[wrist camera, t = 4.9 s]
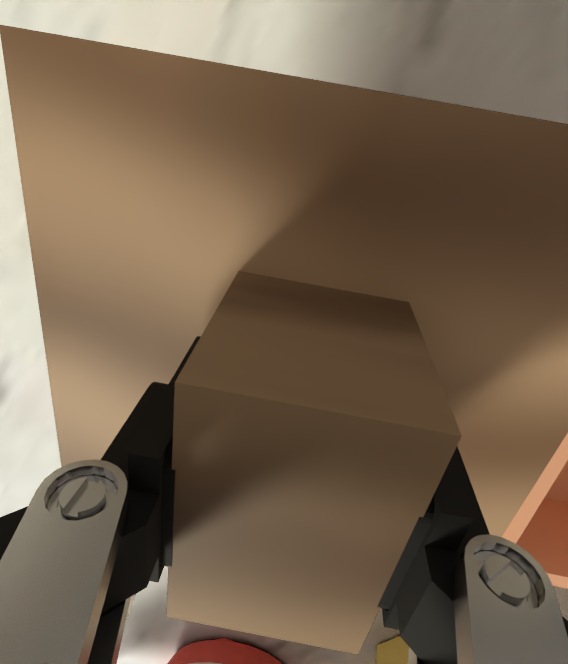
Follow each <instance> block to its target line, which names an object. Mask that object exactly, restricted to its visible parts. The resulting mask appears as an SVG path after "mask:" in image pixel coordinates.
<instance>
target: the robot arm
mask: <svg viewBox="0 0 568 664" xmlns="http://www.w3.org/2000/svg"><path fill="white" fill-rule="evenodd" d="M199 339H200V336H197V337H196V338H195V340H194V342H193V344H192V345H191V347H190V349H189V350H188V352H187V354H186V355H185V357H184V359H183V360H182V362H181V364H180V366H179V367H178V369H177V371H176V372H175V374H174V376H173V377H172V379H171V381H170V382H169V384H165V383H159V382H152V383H151V384H150V385H149V387H148V388H147V390H146V391H145V393H144V394H143V396H142V397H141V399H140V400H139V402H138V403H137V405H136V406H135V408H134V409H133V411H132V412H131V414H130V416H129V417H128V419H127V420H126V422H125V423H124V425H123V426H122V428H121V429H120V431H119V432H118V434H117V435H116V437H115V438H114V440H113V441H112V443H111V444H110V446H109V447H108V449H107V450H106V452H105V453H104V455H103V457H102V458H101V460H97V459H91V460H80V461H77V462H73V463H70V464H67V465H65V466H63V467H61V468H59V469H57V470H55V471H54V472H53V473H52V474H50V475H49V476H48V477H47V478H45V479H44V481H43V482H42V483H41V485H40V486H39V488H38V489H37V490H36V492H35V494H34V496H33V498H32V500H31V502H30V504H29V506H28V507H25V508H23V509H20V510H18V511H15V512H13V513H10V514H8V515H5V516H3V517H0V664H116V663H117V658H118V654H119V649H120V645H121V640H122V636H123V631H124V627H125V622H126V617H127V613H128V608H129V604H130V599H131V596H133V595H134V594H136V593H138V592H139V591H141V590H143V589H144V588H146V587H147V585H148V582H149V581H153V582H159V579H160V576H161V573H162V571H163V568H164V566H170V567H172V545H173V521H174V496H175V472H176V470H173V469H172V447H173V419H174V390H175V381H176V379H177V377H178V376H179V374H180V372H181V370H182V369H183V367H184V365H185V363H186V362H187V360H188V358H189V356H190V355H191V353H192V351H193V349H194V348H195V346H196V344H197V342H198V341H199ZM377 607H380V608H382V612H383V622H384V627H389V628H394V629H399V630H400V637H401V638H402V639H403V640H404V642H405V643H406V644H407V645H408V646H409V652H408V664H568V621H567V620H566V619H565V618H564V617H562V615H561V611H560V608H559V604H558V600H557V597H556V593H555V590H554V587H553V585H552V583H551V581H550V578H549V576H548V575H547V573H546V572H545V570H544V569H543V568H542V566H541V565H540V564H539V563H538V562H537V561H536V560H535V559H534V558H533V557H532V556H531V555H530V554H529V553H528V552H527V551H526V550H524V549H523V548H521V547H520V546H518V545H517V544H515V543H514V542H511V541H509V540H507V539H505V538H503V537H499V536H495V535H490V533H489V531H488V528H487V525H486V523H485V520H484V517H483V514H482V512H481V509H480V506H479V503H478V501H477V498H476V495H475V493H474V490H473V487H472V484H471V482H470V479H469V476H468V474H467V471H466V468H465V465H464V463H463V460H462V457H461V455H460V452H459V449H458V446H457V447H456V449H455V451H454V453H453V455H452V458H451V460H450V462H449V464H448V466H447V468H446V470H445V472H444V474H443V476H442V479H441V481H440V483H439V485H438V487H437V489H436V491H435V493H434V495H433V498H432V500H431V502H430V504H429V506H428V508H427V510H426V512H425V514H424V516H423V517H419V518H418V521H417V523H416V525H415V527H414V529H413V531H412V533H411V535H410V538H409V540H408V542H407V544H406V546H405V548H404V550H403V553H402V555H401V557H400V559H399V561H398V563H397V565H396V568H395V570H394V572H393V574H392V576H391V578H390V580H389V583H388V585H387V587H386V589H385V591H384V593H383V595H382V597H381V600H380V602H379V604H378V606H377Z"/></svg>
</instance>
